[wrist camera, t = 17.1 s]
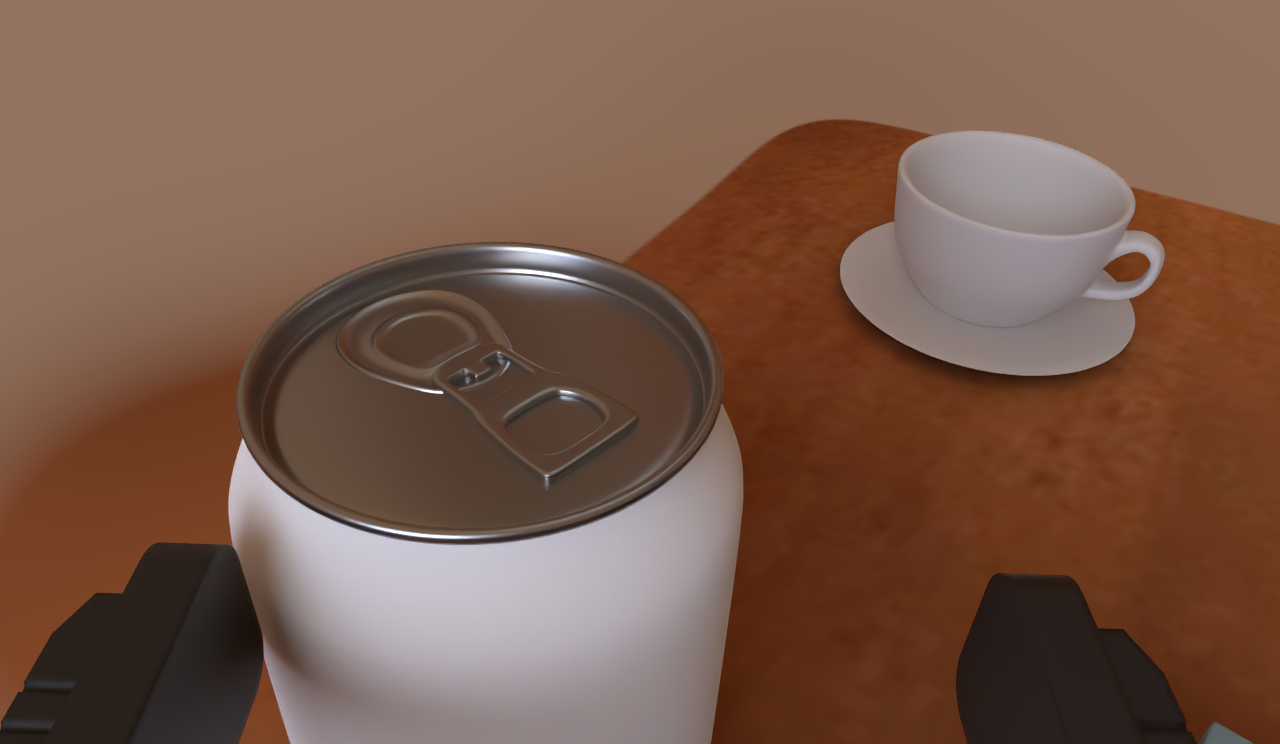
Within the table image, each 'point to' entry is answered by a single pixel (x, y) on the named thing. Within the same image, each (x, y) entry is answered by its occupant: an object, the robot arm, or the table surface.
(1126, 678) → the robot arm
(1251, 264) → the table surface
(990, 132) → the teacup
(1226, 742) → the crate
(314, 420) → the can
